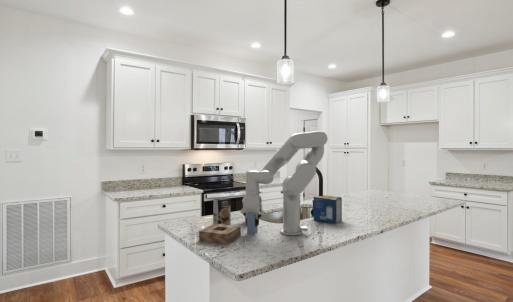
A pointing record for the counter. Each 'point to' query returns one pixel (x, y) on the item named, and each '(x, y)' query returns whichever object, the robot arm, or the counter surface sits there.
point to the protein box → (328, 209)
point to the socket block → (220, 233)
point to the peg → (251, 223)
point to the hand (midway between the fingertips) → (252, 225)
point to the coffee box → (222, 211)
